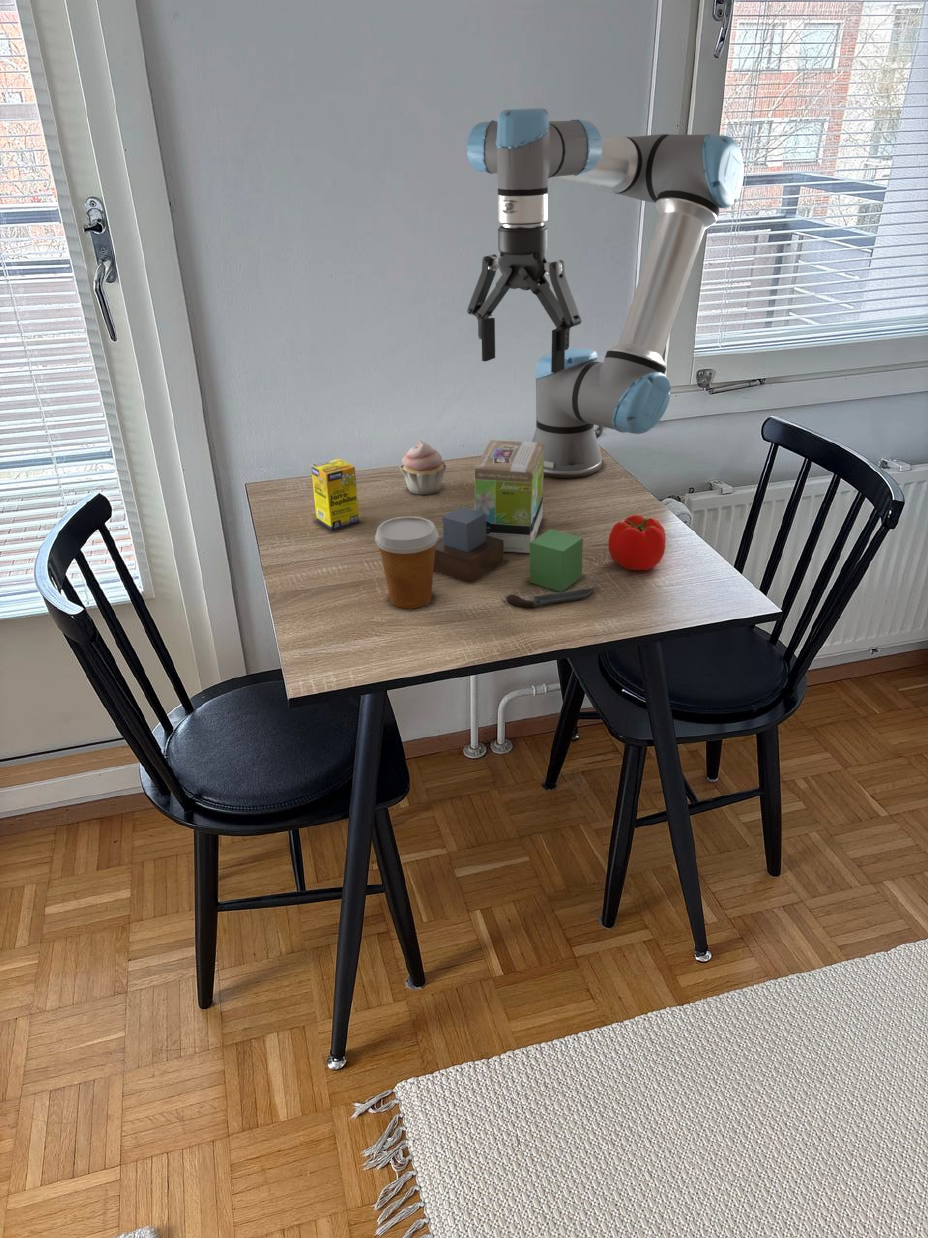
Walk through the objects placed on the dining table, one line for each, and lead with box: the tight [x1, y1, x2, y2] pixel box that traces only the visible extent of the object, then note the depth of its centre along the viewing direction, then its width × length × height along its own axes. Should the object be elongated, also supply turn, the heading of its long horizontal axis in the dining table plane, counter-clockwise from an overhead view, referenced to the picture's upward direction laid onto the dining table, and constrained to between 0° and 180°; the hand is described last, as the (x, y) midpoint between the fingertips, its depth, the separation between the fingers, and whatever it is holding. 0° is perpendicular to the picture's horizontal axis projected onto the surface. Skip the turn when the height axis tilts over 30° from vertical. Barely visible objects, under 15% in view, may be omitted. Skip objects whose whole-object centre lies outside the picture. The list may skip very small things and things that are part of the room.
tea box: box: [474, 439, 544, 554], centre depth 159 cm, size 15×10×15 cm
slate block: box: [441, 506, 486, 552], centre depth 150 cm, size 5×5×5 cm
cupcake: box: [398, 439, 448, 496], centre depth 180 cm, size 9×9×10 cm
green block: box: [529, 528, 584, 592], centre depth 146 cm, size 6×6×7 cm
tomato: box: [607, 514, 667, 571], centre depth 150 cm, size 9×9×8 cm
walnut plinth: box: [433, 535, 505, 584], centre depth 152 cm, size 9×9×4 cm
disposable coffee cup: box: [374, 515, 439, 609], centre depth 141 cm, size 10×10×12 cm
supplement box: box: [310, 458, 360, 532], centre depth 167 cm, size 6×6×11 cm
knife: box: [506, 586, 596, 608], centre depth 142 cm, size 14×4×1 cm, turn 104°
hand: (522, 365), depth 152 cm, fingers open, 13 cm apart
